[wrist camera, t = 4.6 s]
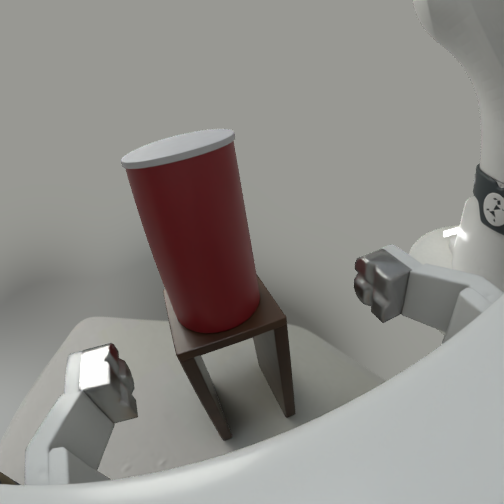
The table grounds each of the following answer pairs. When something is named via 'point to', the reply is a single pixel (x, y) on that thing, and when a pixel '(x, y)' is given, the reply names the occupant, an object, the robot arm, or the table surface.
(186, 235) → the tube
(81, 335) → the table surface
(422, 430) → the robot arm
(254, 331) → the brown wooden stand
